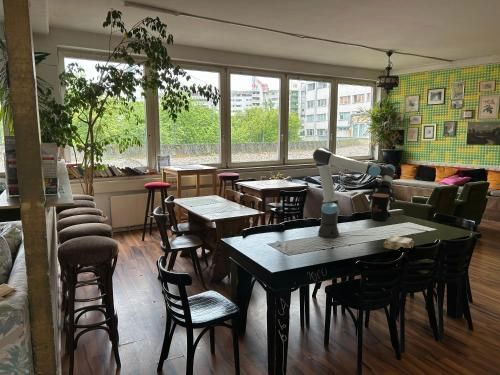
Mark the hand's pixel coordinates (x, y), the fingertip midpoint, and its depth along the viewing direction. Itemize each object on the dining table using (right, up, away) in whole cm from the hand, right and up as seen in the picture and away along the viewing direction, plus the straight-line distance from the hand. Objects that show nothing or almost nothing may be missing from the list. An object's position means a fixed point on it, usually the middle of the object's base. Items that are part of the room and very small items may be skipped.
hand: (378, 208), depth 249 cm
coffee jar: (+2, -8, +4) cm, 9 cm away
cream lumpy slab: (+12, -25, -4) cm, 28 cm away
